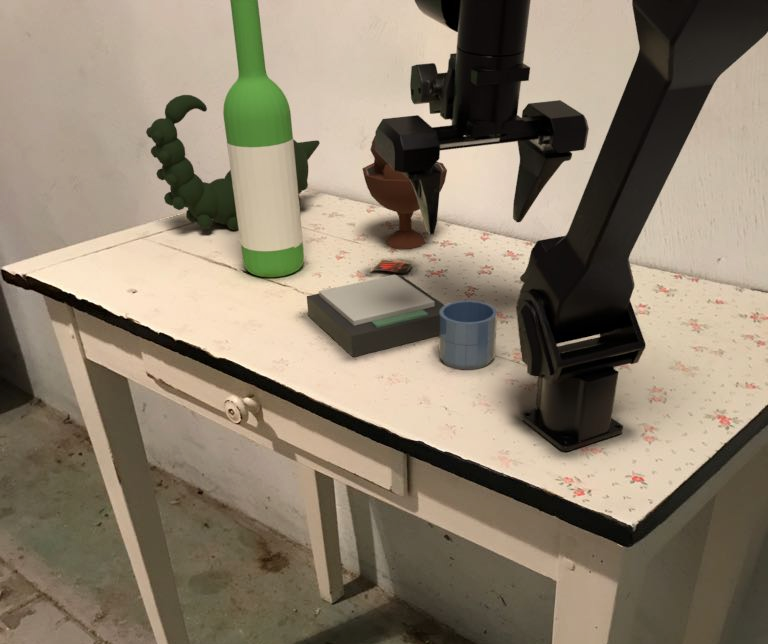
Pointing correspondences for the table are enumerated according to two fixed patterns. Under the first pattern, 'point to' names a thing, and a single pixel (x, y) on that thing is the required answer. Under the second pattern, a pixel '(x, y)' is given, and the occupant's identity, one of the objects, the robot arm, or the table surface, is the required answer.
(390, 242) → the ice cream bowl
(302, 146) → the toy figurine
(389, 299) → the kitchen scale
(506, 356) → the table surface
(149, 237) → the table surface
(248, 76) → the wine bottle
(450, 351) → the small cup
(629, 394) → the table surface
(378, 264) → the red black picture tile
